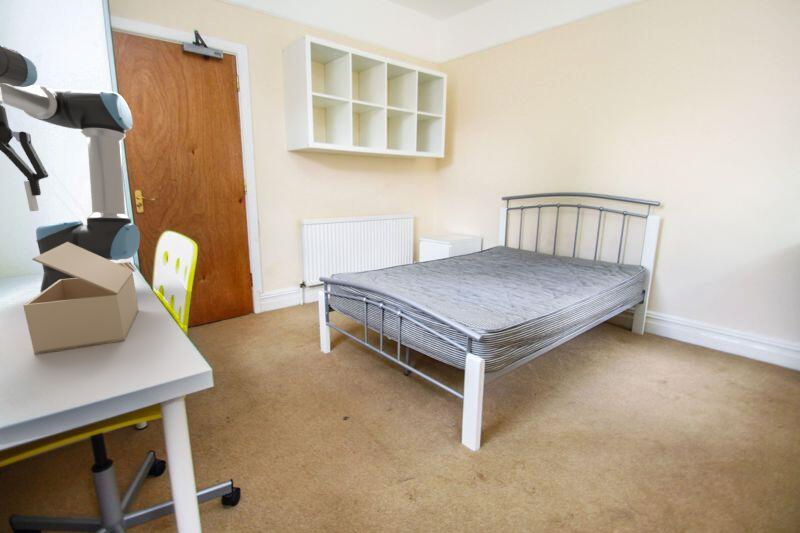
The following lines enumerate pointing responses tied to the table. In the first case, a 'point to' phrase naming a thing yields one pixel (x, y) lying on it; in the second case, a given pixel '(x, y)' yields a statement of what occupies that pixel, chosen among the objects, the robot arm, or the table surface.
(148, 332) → the table surface
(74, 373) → the table surface
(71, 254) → the carton lid
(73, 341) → the carton
